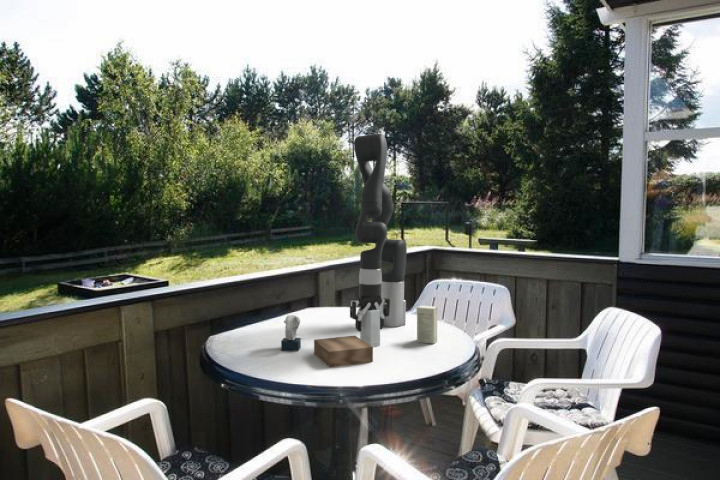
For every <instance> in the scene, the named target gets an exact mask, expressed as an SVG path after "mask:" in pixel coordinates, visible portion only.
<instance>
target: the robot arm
mask: <svg viewBox="0 0 720 480" xmlns="http://www.w3.org/2000/svg"><path fill="white" fill-rule="evenodd" d="M353 147H354V148H353V150H354V153H355V157H356V160H357V161H356V162H357V164H358V167H359V172H360V175H361V179H362V182H363V188H362V189H361V196H360V198H361V199H360V200H361V201H360V205H361V206H360V215H359V217H358V218H359V219H358V221H357V224H356V228H355V230H354V237H355V239H356V241H357V242H358V243H361V244H375V245H374V246H373V248H370V249H365V250H362V251H361V252H360V259H359V263H360V264H359V274H358V275H359V276H358V277H359V278H358V279H359V280H358V300H352V299H350V301H349V318H350V319H352V320H355V326H354V327H355V330H356V331H357V332H359V333H360V332H361V325H362V321H361V319H362V317H363V315H365V313H366V311H367V310H380V331H382V330H383V328H384V327H387V328H388V327H389V328H391V327H392V328H398V327H402V326H405V325H406V319H407V317H406V315H407V313H406V312H407V307H406V306H407V300H405V275H406V269H407V268H406V265H407V255H408V254H407V252H408V250H407V249H408V247H407V244H406V242H405V241H404V240H402V239H392V238H388V227H387V226H388V224H389V222H390V220H391V218H392V215H393V213H394V208H395V207H394V202H393V197H392V192H391V190H390V188H389V187H388V186H387V185H386V184H385V182H384V178H385V172H386V166H387V159H388V158H387V157H388V144H387V139H386V137H385V136H384V134H383V133H373V134H366V135H360V136H356V137H355V138H354V141H353ZM370 162H375V165H374V167H373V169H372V167H371V164H370ZM369 220H371V221H369ZM382 263H385V264H392V265H393V266H392V268H391V269H389V270H387V271H384V272H382ZM358 305H359V307H358ZM357 307H358V310H357ZM362 310H363V311H362Z"/></svg>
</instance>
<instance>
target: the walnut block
mask: <svg viewBox="0 0 720 480" xmlns="http://www.w3.org/2000/svg"><path fill="white" fill-rule="evenodd" d="M313 354H314V355H315V356H316V357H317V358H318V359H319V360H320V361H321V362H322V363H324V365H326V366H327V367H328V368H337V367H341V366H342V367H343V366H351V365H359V364H367V363H374V347H372V346H371V345H369V344H368V343H366V342H364V341H363V340H361V339H360V337H359V336H357V335H348V336H347V335H346V336H337V337H328V338H327V337H326V338H316V339H314V341H313Z"/></svg>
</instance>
